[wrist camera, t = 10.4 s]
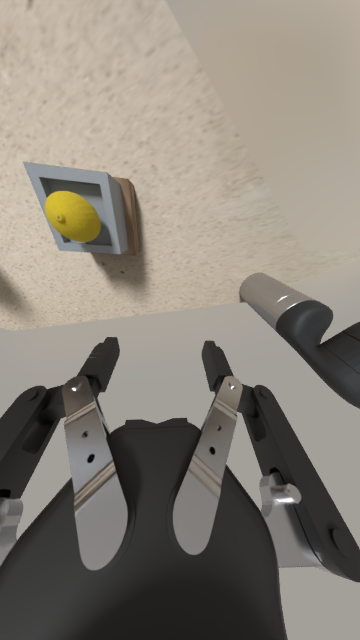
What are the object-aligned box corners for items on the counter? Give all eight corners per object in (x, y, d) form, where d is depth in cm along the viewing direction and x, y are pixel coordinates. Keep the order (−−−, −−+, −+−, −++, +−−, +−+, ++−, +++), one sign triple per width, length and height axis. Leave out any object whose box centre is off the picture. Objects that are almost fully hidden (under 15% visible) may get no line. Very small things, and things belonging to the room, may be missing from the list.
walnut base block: (133, 185, 27) (128, 179, 23) (139, 251, 34) (136, 255, 30) (69, 177, 25) (50, 168, 21) (89, 247, 32) (78, 251, 28)
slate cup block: (120, 183, 23) (106, 172, 18) (128, 248, 29) (120, 254, 24) (57, 176, 22) (22, 161, 17) (79, 245, 28) (59, 250, 22)
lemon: (96, 247, 24) (72, 254, 17) (63, 218, 21) (19, 214, 15) (114, 221, 22) (94, 219, 16) (80, 186, 19) (38, 166, 13)
